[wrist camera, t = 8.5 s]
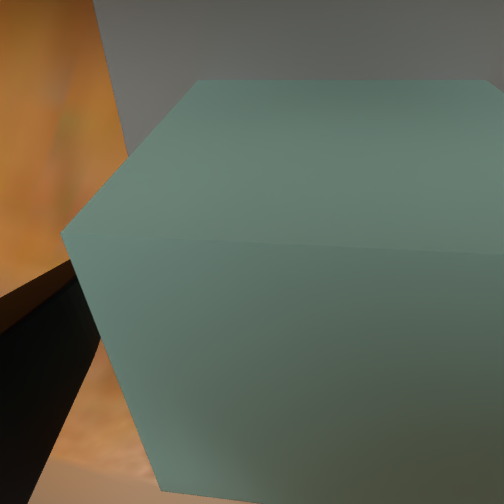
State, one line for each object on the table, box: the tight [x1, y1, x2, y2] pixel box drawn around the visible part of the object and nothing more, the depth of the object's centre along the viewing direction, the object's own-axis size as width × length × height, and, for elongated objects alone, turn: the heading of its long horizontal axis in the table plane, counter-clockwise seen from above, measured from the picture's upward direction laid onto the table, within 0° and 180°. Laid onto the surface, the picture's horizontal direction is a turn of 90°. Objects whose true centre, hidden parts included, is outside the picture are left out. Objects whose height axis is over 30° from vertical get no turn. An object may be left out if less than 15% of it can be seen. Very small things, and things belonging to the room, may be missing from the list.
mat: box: [93, 0, 504, 157], centre depth 10 cm, size 10×10×1 cm
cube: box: [60, 80, 504, 504], centre depth 8 cm, size 6×6×6 cm
